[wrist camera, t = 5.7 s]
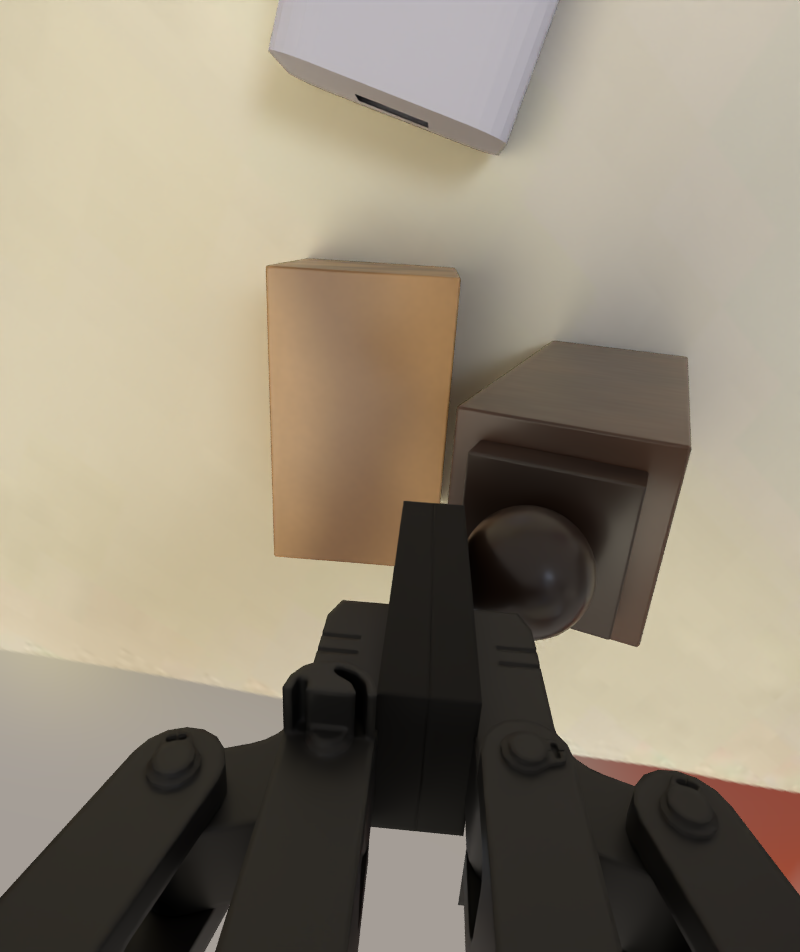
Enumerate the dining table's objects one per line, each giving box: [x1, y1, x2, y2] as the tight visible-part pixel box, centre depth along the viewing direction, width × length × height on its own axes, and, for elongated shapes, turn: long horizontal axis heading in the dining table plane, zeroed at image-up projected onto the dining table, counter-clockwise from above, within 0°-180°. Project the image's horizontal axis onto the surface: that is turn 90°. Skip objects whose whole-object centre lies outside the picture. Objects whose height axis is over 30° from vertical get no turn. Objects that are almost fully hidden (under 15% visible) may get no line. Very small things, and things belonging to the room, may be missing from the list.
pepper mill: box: [448, 341, 691, 647], centre depth 21 cm, size 14×6×17 cm, turn 87°
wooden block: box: [266, 258, 461, 566], centre depth 26 cm, size 7×12×7 cm, turn 177°
